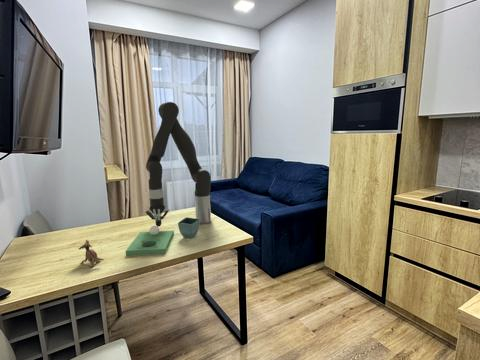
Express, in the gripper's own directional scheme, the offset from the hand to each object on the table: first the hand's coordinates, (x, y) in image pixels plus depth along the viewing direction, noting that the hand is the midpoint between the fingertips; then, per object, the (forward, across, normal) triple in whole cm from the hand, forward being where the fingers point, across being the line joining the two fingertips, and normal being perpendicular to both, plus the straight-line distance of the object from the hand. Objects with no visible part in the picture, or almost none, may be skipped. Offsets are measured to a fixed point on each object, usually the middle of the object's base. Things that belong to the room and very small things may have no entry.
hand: (158, 226), depth 143 cm
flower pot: (+4, -18, +8) cm, 20 cm away
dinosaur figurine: (+4, +22, +32) cm, 39 cm away
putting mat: (+4, 0, +16) cm, 17 cm away
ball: (-2, 0, +10) cm, 10 cm away
